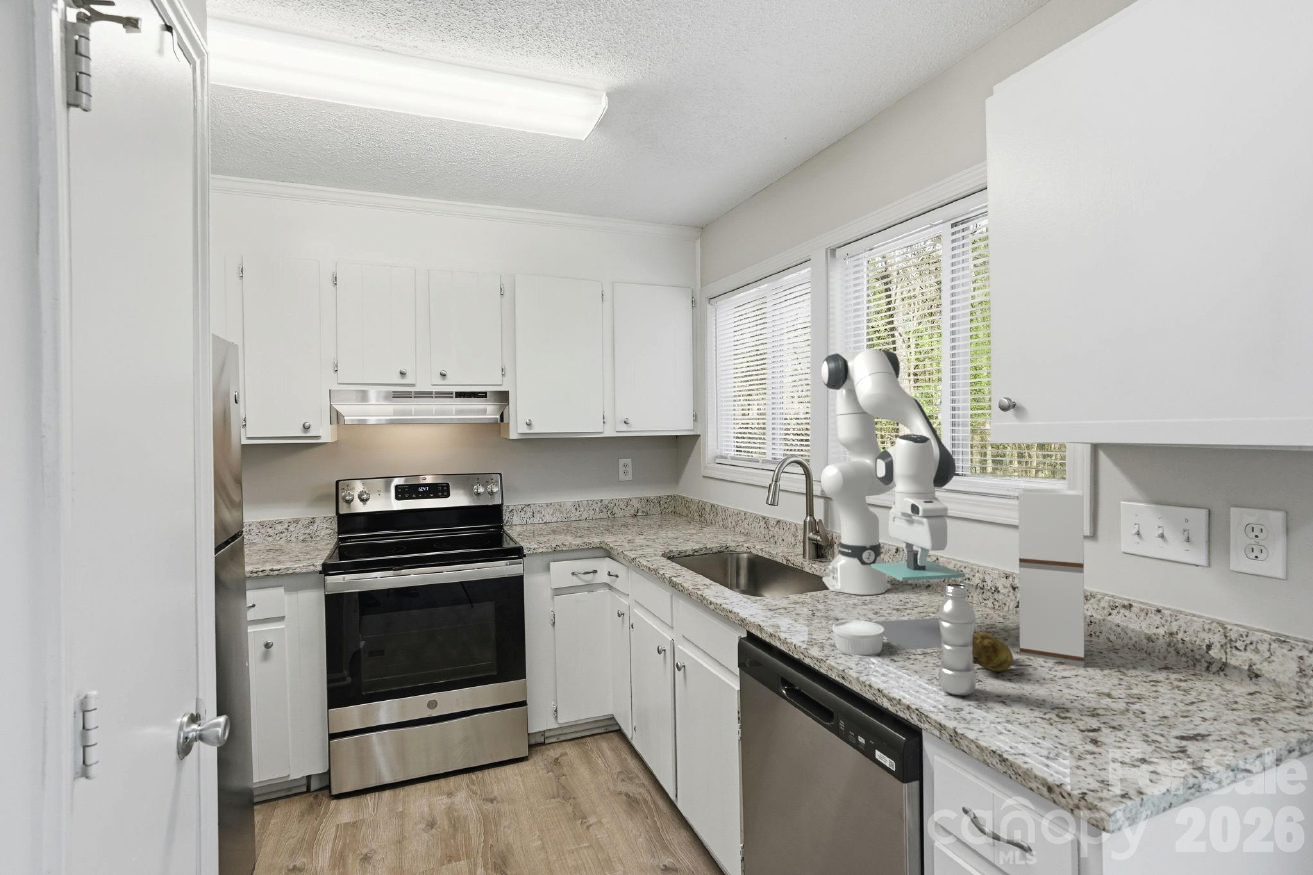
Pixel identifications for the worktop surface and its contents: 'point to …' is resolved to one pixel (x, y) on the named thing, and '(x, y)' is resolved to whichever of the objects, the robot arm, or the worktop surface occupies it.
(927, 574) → the lid
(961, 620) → the plastic bottle
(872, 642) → the ramekin
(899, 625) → the mat
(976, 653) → the potato
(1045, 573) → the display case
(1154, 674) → the worktop surface
